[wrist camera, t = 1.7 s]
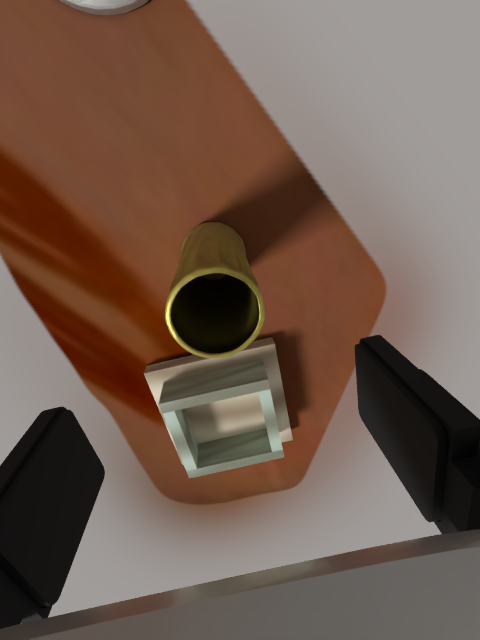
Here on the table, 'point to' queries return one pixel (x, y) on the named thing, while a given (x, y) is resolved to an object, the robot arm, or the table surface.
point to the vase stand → (223, 408)
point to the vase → (214, 294)
